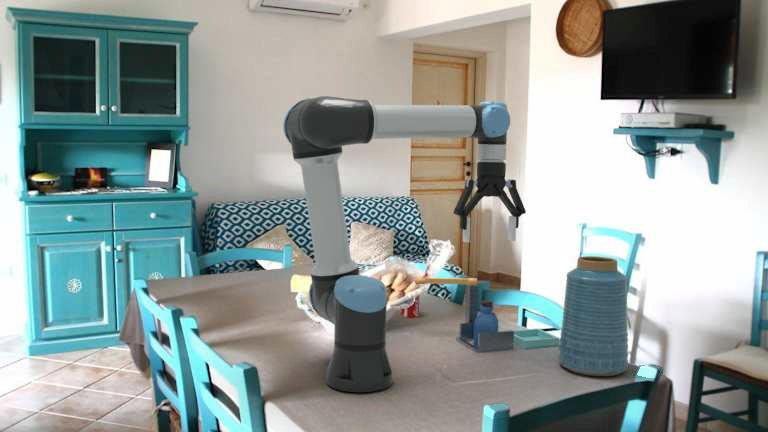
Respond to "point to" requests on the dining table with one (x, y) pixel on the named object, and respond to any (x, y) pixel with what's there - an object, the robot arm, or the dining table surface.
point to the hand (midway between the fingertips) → (489, 241)
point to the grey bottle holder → (485, 339)
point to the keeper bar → (446, 281)
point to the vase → (595, 319)
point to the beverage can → (411, 310)
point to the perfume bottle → (485, 320)
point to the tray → (534, 338)
